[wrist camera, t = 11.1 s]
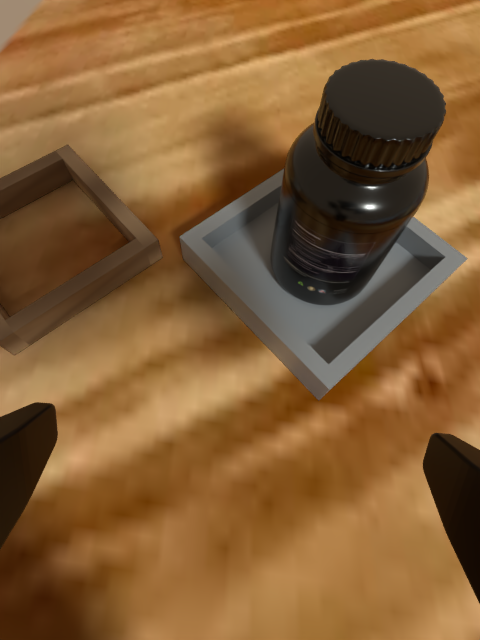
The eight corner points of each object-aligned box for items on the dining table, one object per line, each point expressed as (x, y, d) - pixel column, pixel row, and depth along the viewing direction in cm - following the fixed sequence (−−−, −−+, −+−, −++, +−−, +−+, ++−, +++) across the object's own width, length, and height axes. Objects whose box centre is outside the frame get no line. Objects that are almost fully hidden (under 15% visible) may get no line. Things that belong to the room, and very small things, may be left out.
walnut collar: (162, 257, 26) (158, 239, 25) (14, 355, 23) (-4, 343, 21) (77, 166, 30) (67, 144, 28) (-64, 240, 26) (-86, 221, 24)
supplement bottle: (285, 212, 27) (326, 25, 17) (378, 241, 27) (485, 65, 16) (253, 289, 25) (276, 126, 14) (356, 325, 24) (466, 181, 13)
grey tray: (446, 278, 27) (467, 258, 24) (318, 400, 23) (329, 389, 20) (312, 171, 30) (320, 145, 28) (183, 259, 26) (179, 236, 24)
